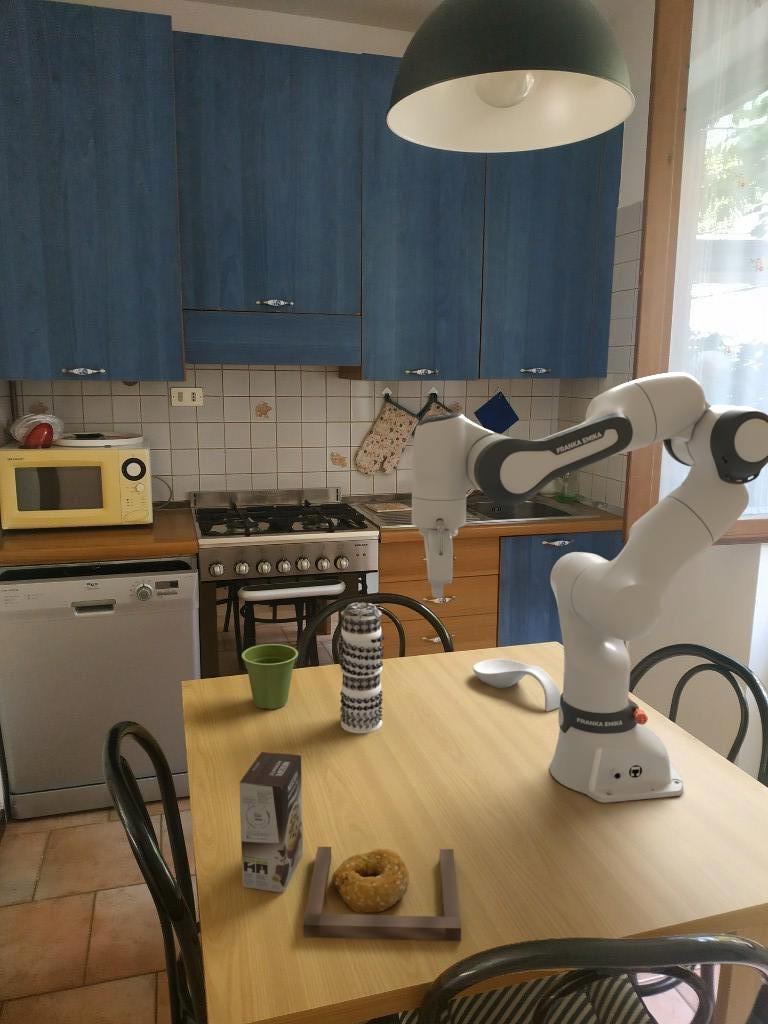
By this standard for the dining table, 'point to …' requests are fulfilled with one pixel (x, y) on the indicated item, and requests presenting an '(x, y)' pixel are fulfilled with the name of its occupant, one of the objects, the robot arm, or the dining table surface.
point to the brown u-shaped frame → (382, 924)
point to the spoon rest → (517, 677)
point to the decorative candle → (361, 668)
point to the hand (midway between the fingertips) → (437, 595)
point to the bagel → (372, 880)
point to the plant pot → (270, 673)
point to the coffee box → (271, 821)
